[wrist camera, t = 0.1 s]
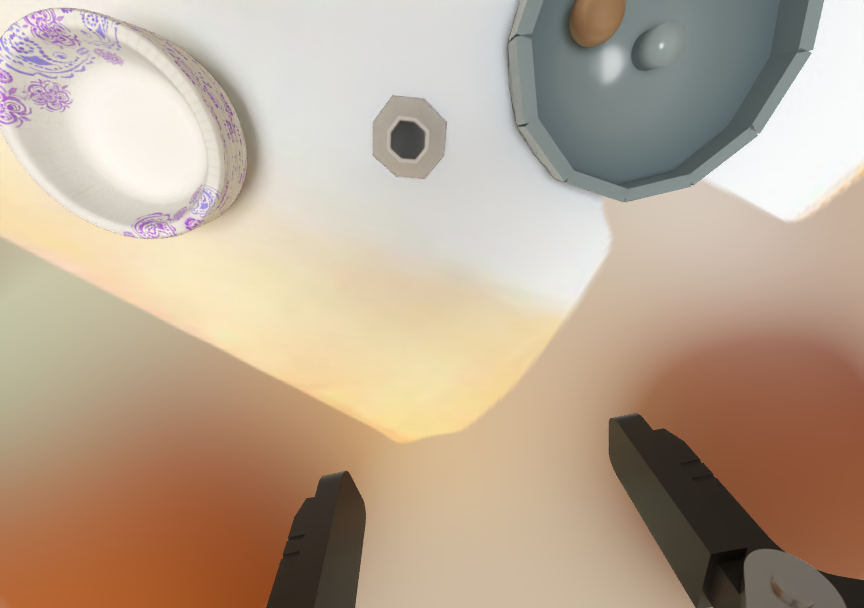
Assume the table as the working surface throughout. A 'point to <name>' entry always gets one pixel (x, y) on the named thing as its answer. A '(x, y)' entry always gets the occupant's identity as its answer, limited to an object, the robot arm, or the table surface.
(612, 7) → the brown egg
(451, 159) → the table surface
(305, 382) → the table surface
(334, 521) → the robot arm
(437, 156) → the flask
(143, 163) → the paper bowls
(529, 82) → the tray
